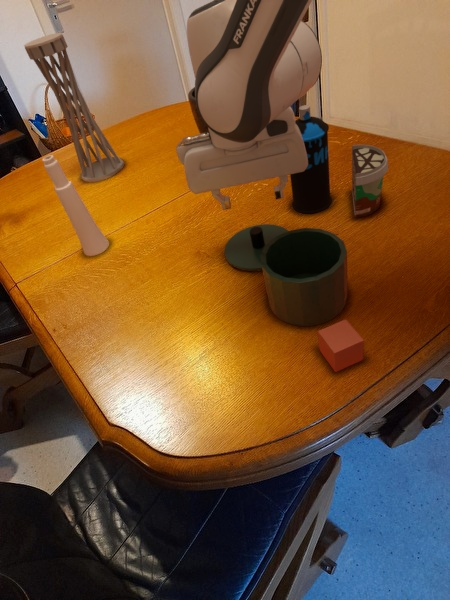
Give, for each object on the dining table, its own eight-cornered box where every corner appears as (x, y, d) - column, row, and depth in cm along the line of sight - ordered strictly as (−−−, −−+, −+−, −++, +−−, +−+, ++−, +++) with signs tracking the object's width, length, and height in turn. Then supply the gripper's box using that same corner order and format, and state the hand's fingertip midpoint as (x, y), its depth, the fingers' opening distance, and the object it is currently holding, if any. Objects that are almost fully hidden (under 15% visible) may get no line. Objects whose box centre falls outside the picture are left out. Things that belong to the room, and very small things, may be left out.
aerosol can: (285, 201, 89) (274, 108, 75) (319, 188, 90) (313, 94, 76) (303, 218, 83) (294, 121, 69) (339, 204, 84) (337, 105, 70)
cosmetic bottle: (112, 247, 91) (65, 155, 76) (88, 260, 90) (35, 168, 75) (105, 236, 95) (59, 147, 80) (81, 248, 94) (30, 159, 79)
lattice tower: (74, 175, 125) (9, 48, 101) (110, 156, 130) (56, 30, 106) (94, 186, 116) (27, 49, 92) (132, 165, 121) (78, 30, 97)
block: (346, 338, 60) (345, 318, 57) (363, 359, 57) (364, 340, 54) (319, 350, 59) (317, 331, 56) (335, 372, 56) (334, 353, 53)
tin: (338, 267, 71) (336, 222, 64) (354, 319, 62) (354, 273, 55) (266, 278, 73) (258, 236, 66) (272, 331, 64) (263, 288, 57)
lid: (290, 223, 83) (287, 204, 80) (299, 266, 73) (296, 245, 70) (225, 235, 85) (220, 216, 82) (225, 278, 75) (220, 259, 72)
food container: (389, 219, 77) (393, 171, 70) (355, 222, 79) (356, 175, 72) (382, 185, 85) (385, 139, 79) (351, 188, 87) (351, 144, 80)
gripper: (170, 148, 62) (195, 223, 71) (305, 117, 59) (312, 200, 68) (174, 132, 66) (197, 204, 76) (299, 102, 63) (307, 182, 72)
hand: (253, 202), depth 72 cm, fingers open, 8 cm apart
